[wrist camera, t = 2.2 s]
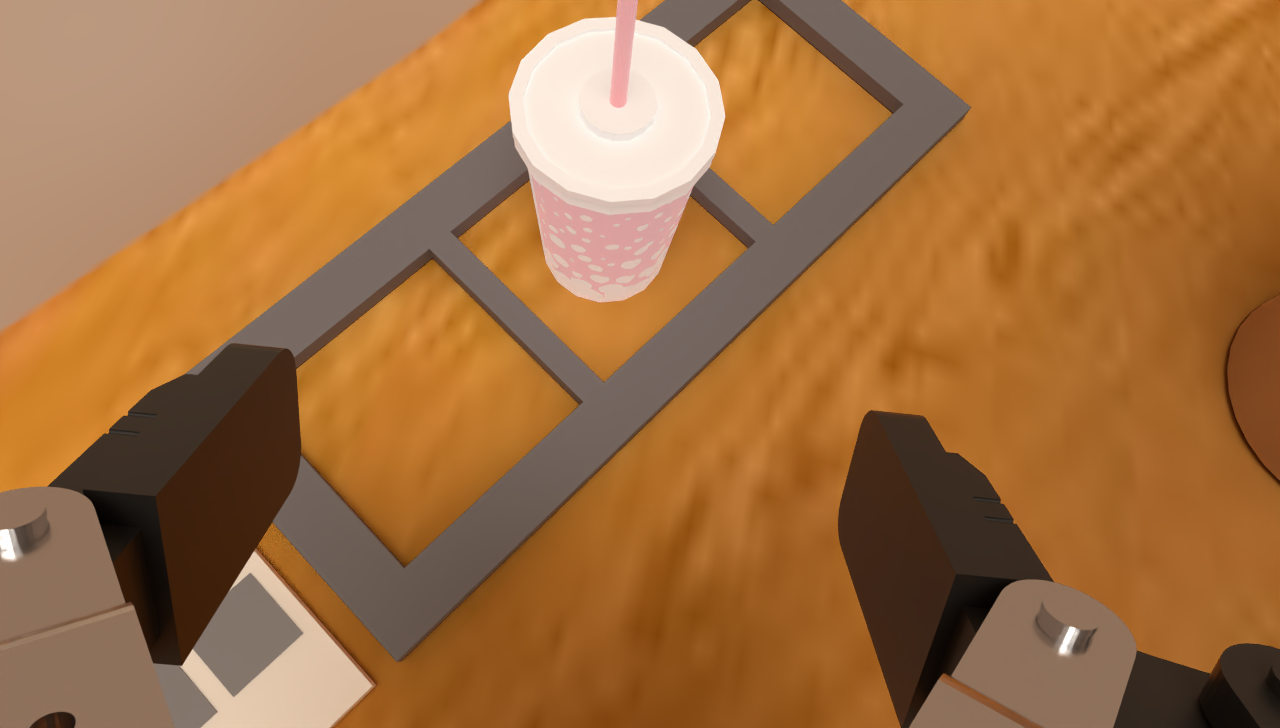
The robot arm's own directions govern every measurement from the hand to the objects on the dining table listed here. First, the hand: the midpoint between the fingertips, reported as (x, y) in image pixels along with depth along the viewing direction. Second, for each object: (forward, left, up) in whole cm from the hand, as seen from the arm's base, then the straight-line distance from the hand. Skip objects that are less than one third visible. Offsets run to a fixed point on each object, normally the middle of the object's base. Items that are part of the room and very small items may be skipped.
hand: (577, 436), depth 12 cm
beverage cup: (-9, -8, -18) cm, 21 cm away
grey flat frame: (-9, -8, -18) cm, 21 cm away
